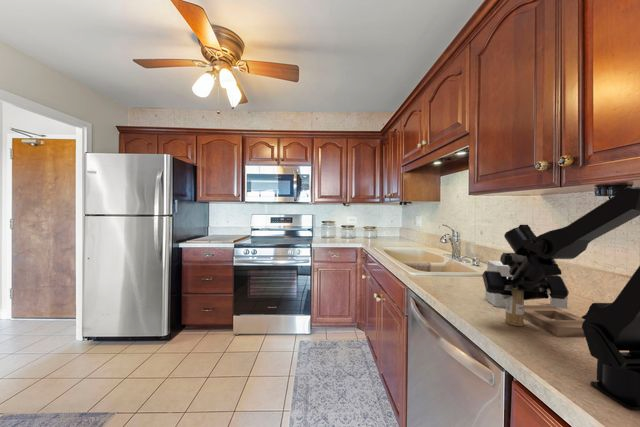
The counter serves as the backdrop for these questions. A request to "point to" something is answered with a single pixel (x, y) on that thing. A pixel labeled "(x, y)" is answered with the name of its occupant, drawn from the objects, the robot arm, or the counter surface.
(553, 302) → the lighter
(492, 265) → the skincare box
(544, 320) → the brown wooden tray
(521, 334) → the counter surface
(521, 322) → the sprinkles bottle
